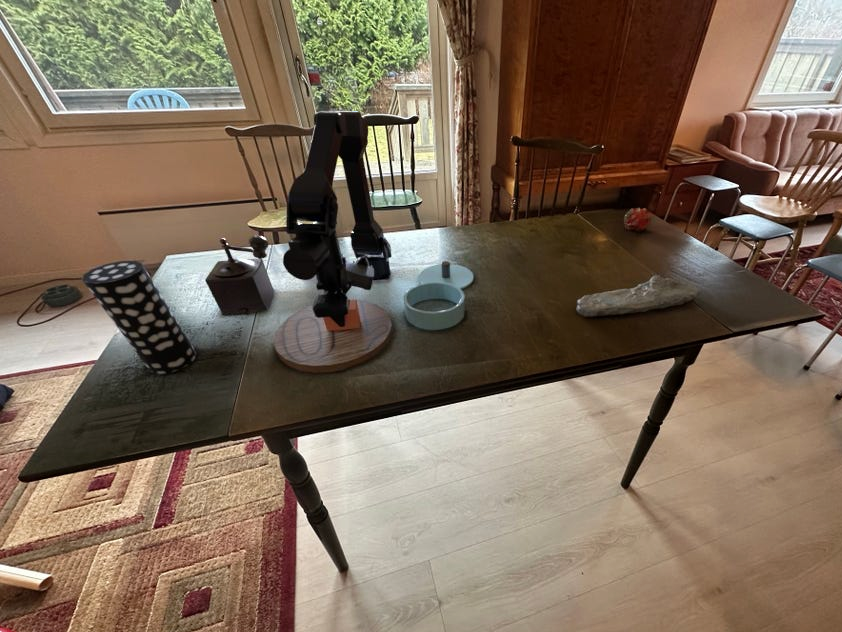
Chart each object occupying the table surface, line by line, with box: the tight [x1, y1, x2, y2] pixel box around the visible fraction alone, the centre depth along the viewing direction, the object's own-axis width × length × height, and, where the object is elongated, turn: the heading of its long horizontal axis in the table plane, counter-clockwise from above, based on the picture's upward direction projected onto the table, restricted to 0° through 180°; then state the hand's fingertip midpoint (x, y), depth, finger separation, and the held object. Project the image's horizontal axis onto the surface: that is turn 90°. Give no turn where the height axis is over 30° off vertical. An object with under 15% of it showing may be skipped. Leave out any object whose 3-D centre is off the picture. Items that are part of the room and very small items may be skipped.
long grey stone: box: [576, 275, 699, 318], centre depth 96 cm, size 35×5×10 cm
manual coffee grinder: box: [204, 235, 275, 316], centre depth 89 cm, size 16×11×18 cm
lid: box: [418, 260, 474, 290], centre depth 104 cm, size 15×15×5 cm
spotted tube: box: [81, 260, 198, 375], centre depth 70 cm, size 8×8×20 cm
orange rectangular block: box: [323, 299, 360, 331], centre depth 83 cm, size 7×4×5 cm, turn 102°
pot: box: [402, 282, 466, 331], centre depth 90 cm, size 14×14×5 cm
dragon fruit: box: [622, 207, 652, 232], centre depth 135 cm, size 8×8×12 cm
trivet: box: [273, 299, 393, 374], centre depth 84 cm, size 25×25×2 cm
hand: (343, 321), depth 83 cm, fingers closed on orange rectangular block, 4 cm apart
